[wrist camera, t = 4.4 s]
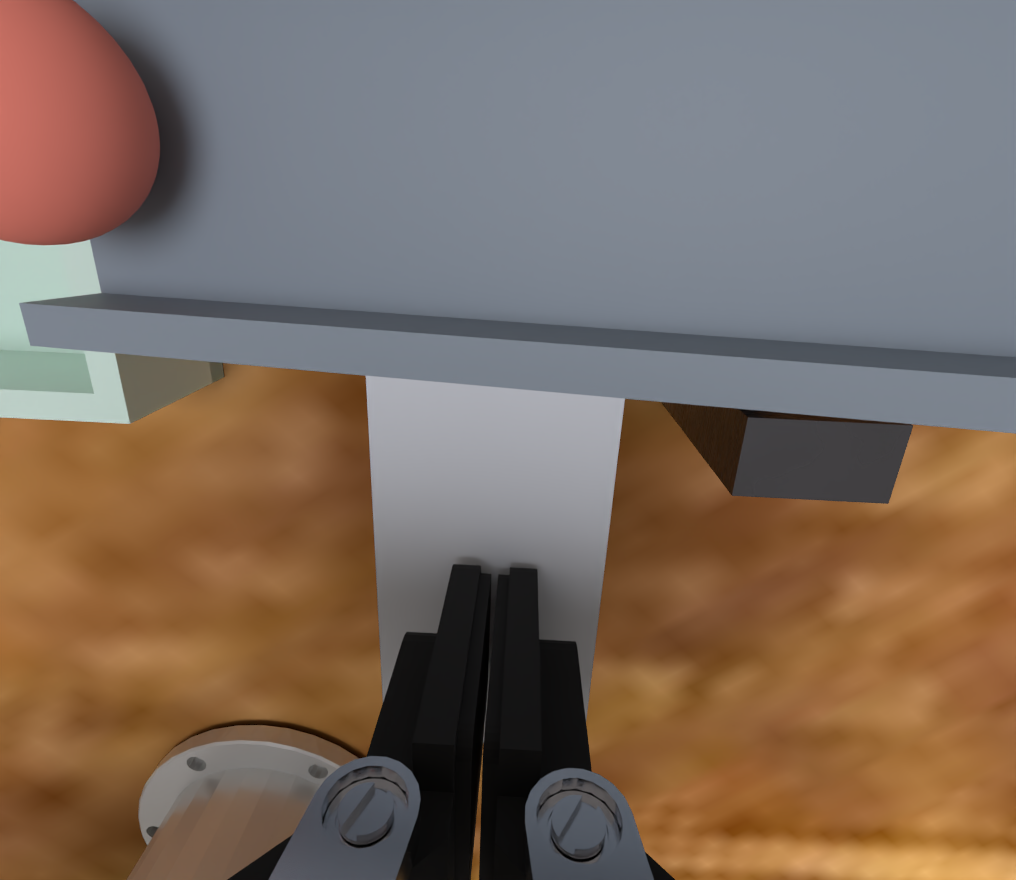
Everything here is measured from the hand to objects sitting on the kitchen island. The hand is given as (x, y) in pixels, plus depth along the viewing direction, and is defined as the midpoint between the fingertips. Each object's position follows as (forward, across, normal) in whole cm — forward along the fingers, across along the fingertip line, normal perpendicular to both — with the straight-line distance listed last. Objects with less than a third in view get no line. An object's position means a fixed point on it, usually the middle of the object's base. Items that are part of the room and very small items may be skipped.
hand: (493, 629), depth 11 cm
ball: (+1, +8, -9) cm, 12 cm away
